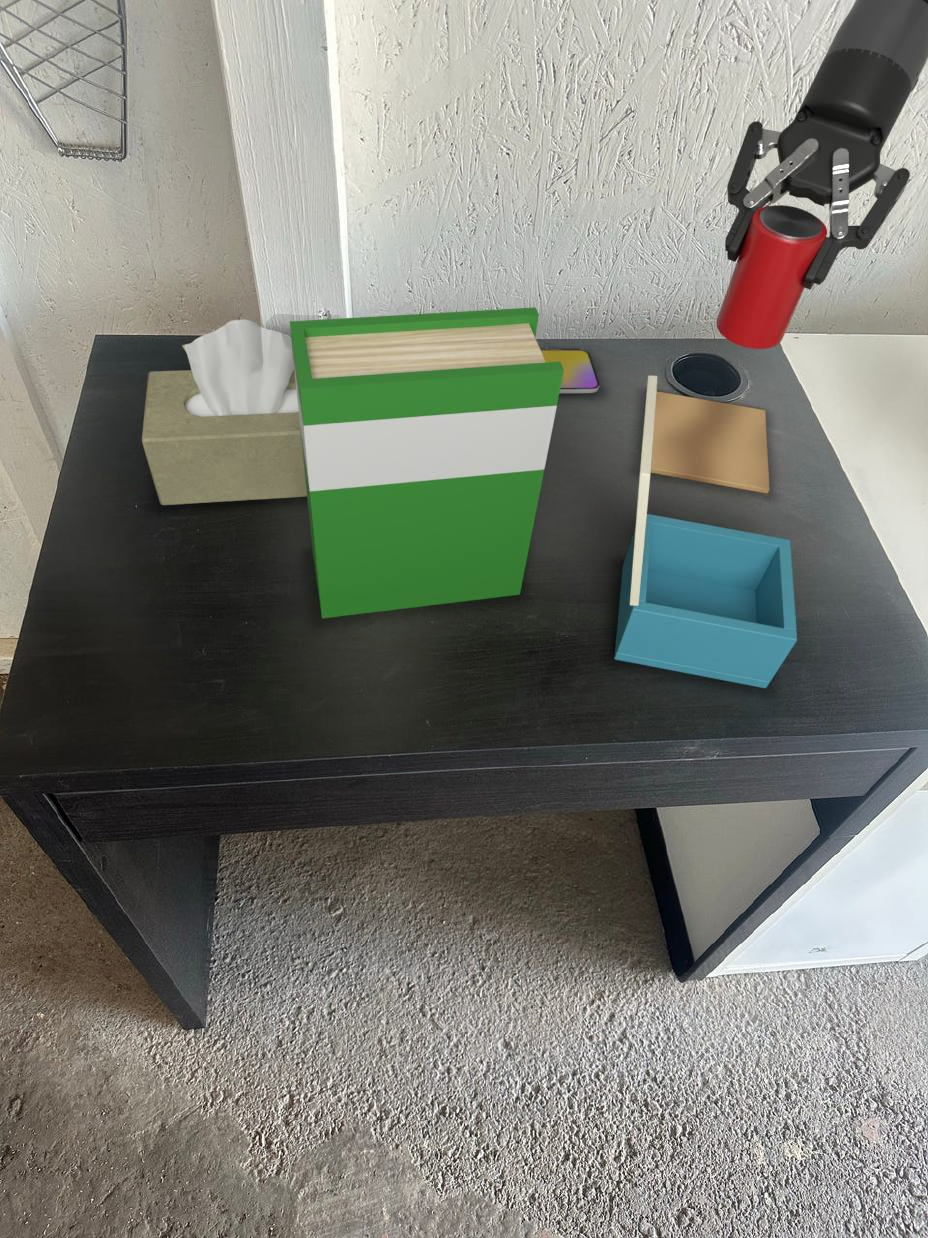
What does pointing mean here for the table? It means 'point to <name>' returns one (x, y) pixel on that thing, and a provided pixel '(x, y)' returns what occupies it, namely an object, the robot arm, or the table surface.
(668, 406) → the cork mat
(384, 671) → the table surface
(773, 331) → the drinks can
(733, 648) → the teal open box
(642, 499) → the lid
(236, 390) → the tissue box
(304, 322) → the hardback book
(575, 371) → the smartphone
